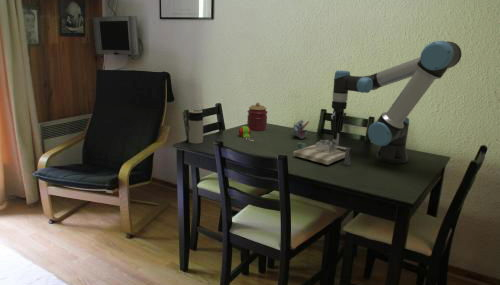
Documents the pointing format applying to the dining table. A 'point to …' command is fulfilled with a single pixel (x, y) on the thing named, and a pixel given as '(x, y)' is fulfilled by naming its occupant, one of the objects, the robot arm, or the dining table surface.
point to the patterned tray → (317, 154)
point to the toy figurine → (299, 129)
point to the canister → (257, 118)
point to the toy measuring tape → (245, 132)
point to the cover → (326, 146)
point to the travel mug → (195, 126)
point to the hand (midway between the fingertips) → (335, 144)
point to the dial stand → (346, 155)
